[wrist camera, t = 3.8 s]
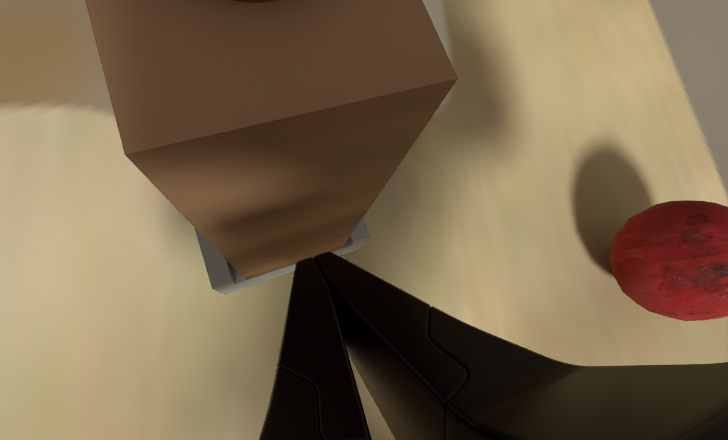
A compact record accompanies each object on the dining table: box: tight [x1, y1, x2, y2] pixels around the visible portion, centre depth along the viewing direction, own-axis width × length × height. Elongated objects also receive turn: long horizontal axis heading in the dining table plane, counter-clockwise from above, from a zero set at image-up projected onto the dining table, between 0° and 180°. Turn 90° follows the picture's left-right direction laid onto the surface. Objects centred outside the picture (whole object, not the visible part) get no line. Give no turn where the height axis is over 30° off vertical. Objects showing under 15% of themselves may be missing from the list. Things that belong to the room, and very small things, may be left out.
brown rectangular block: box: [85, 0, 458, 280], centre depth 9 cm, size 5×4×12 cm
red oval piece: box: [610, 201, 728, 321], centre depth 18 cm, size 6×6×8 cm
